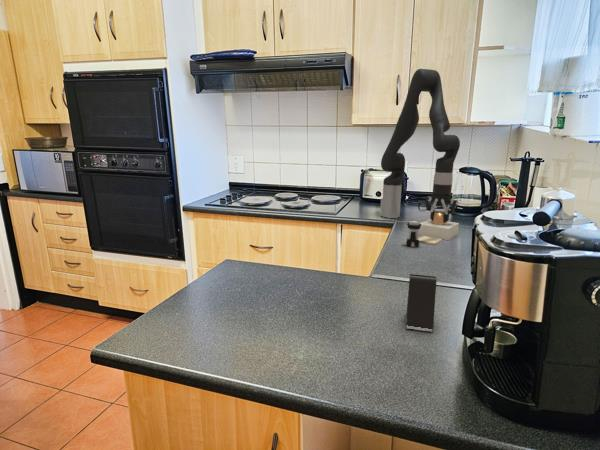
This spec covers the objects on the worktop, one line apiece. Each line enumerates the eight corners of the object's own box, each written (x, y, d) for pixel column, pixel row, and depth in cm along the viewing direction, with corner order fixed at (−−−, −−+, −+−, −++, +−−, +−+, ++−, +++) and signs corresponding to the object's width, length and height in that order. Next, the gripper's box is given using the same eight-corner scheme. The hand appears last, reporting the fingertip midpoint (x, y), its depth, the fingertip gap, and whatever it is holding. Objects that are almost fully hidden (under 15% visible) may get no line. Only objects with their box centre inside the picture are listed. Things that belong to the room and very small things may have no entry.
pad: (415, 241, 160) (415, 239, 160) (423, 237, 166) (423, 235, 166) (434, 245, 155) (434, 243, 155) (441, 241, 161) (442, 239, 161)
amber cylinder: (430, 234, 171) (432, 211, 168) (434, 232, 175) (436, 210, 172) (441, 236, 168) (443, 213, 165) (445, 234, 172) (447, 211, 169)
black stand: (402, 247, 153) (404, 222, 150) (401, 243, 158) (403, 219, 155) (419, 248, 151) (422, 223, 149) (418, 244, 156) (420, 220, 154)
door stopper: (406, 312, 99) (410, 268, 96) (431, 315, 97) (435, 270, 94) (405, 329, 90) (409, 281, 88) (432, 333, 89) (437, 284, 86)
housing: (417, 234, 170) (418, 223, 169) (429, 229, 180) (430, 218, 179) (447, 240, 162) (448, 228, 161) (457, 234, 172) (459, 223, 171)
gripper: (462, 183, 164) (458, 222, 168) (429, 180, 173) (426, 217, 177) (457, 185, 158) (452, 225, 163) (423, 182, 167) (419, 220, 171)
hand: (439, 221), depth 170 cm, fingers closed on amber cylinder, 5 cm apart
